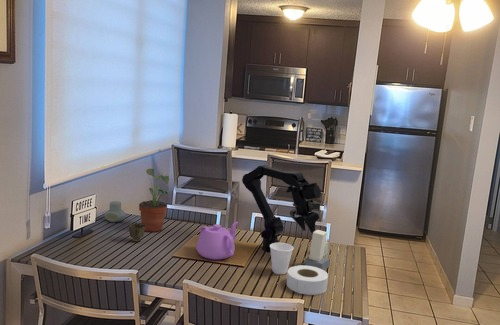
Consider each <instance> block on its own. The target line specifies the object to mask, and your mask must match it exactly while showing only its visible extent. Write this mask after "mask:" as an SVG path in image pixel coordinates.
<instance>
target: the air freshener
mask: <svg viewBox="0 0 500 325" xmlns="http://www.w3.org/2000/svg"><path fill="white" fill-rule="evenodd" d="M126 216H127V214H126V212H125V211H124V210H123V209H122V202H121V201H118V200H116V201H110V202H109V209H108V210H107V211H106V212H104V219H105V220H106V221H107V222H110V223H119V222H122V221H123V220H125V218H126Z"/></svg>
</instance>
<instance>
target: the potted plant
mask: <svg viewBox="0 0 500 325" xmlns="http://www.w3.org/2000/svg"><path fill="white" fill-rule="evenodd" d="M145 173H146V174H147V175H149V176H150V178H149V179H150V180H149V181H150V185H151V187H149V188H148V189H149V193H150V195H152V199H151V200H143V201H142V202H140V203H139V205H138V210H139V212H140V221H141V222H140V224H141V225H142V224H143V223H144V224H145V230H144V232H153V233H154V232H160V231H162V230H163V227H164V226H163V225H164V222H165V214H166V212H167V211H168V203H166V202H164V201H161V200H160V199H161V198H162V197H163V196H164V195H166V194H167V195H170V194H169V190H167V191H166V190H164V189H162V188H161V187H160V186H161V184H159V185H158V186H155V187H154V188H153V182H152V177H154V181H157V180H160V178H161V180H160V182H162V181H163V182H164V183H165V184H166V185H168V184H169V181H170V177H169V175H162V174H160V173H158V175H155V169H154V168H148V169H146V170H145ZM156 189H157V191H156ZM160 193H161V194H160Z"/></svg>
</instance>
